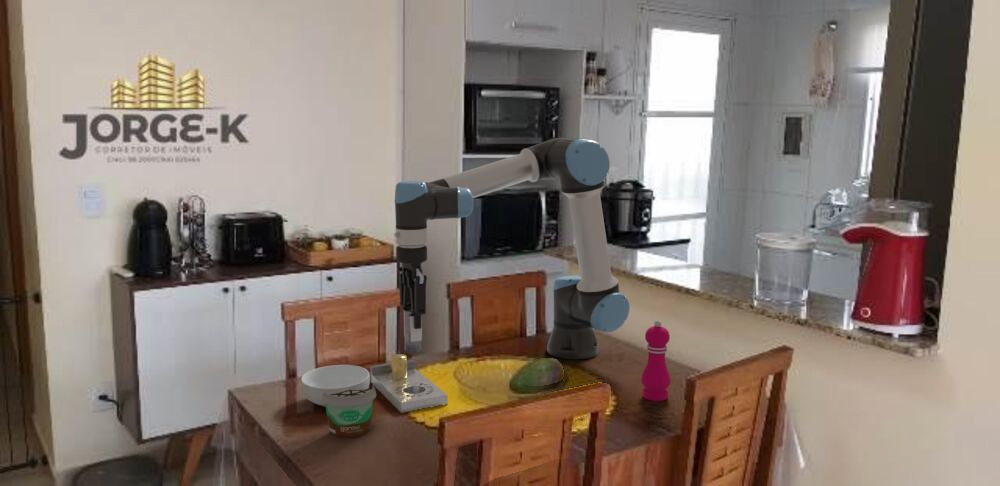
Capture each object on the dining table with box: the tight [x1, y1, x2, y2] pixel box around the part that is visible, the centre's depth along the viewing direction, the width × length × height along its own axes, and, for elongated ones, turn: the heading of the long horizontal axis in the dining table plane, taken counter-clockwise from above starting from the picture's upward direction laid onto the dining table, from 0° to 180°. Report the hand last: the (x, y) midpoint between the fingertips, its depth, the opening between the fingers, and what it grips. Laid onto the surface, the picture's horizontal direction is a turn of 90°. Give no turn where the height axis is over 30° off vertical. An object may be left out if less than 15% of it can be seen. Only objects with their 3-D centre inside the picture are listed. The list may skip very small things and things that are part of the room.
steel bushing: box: [403, 309, 422, 354], centre depth 197 cm, size 4×4×10 cm
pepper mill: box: [640, 319, 671, 402], centre depth 200 cm, size 7×7×20 cm
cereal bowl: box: [300, 364, 371, 408], centre depth 198 cm, size 17×17×7 cm
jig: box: [369, 353, 449, 414], centre depth 204 cm, size 12×24×8 cm, turn 27°
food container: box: [322, 384, 377, 439], centre depth 178 cm, size 12×6×10 cm, turn 114°
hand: (413, 338), depth 197 cm, fingers closed on steel bushing, 4 cm apart
